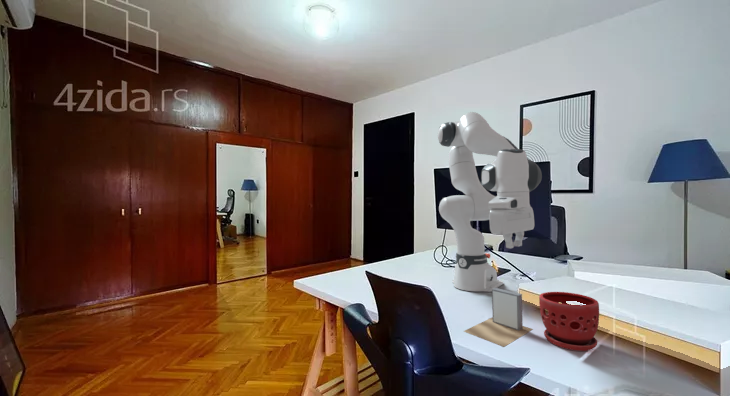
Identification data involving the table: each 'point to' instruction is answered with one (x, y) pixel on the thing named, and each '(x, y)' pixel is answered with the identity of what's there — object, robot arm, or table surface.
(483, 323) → the cork mat
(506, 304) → the tile
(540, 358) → the table surface
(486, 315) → the table surface
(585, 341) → the plant pot
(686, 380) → the table surface
